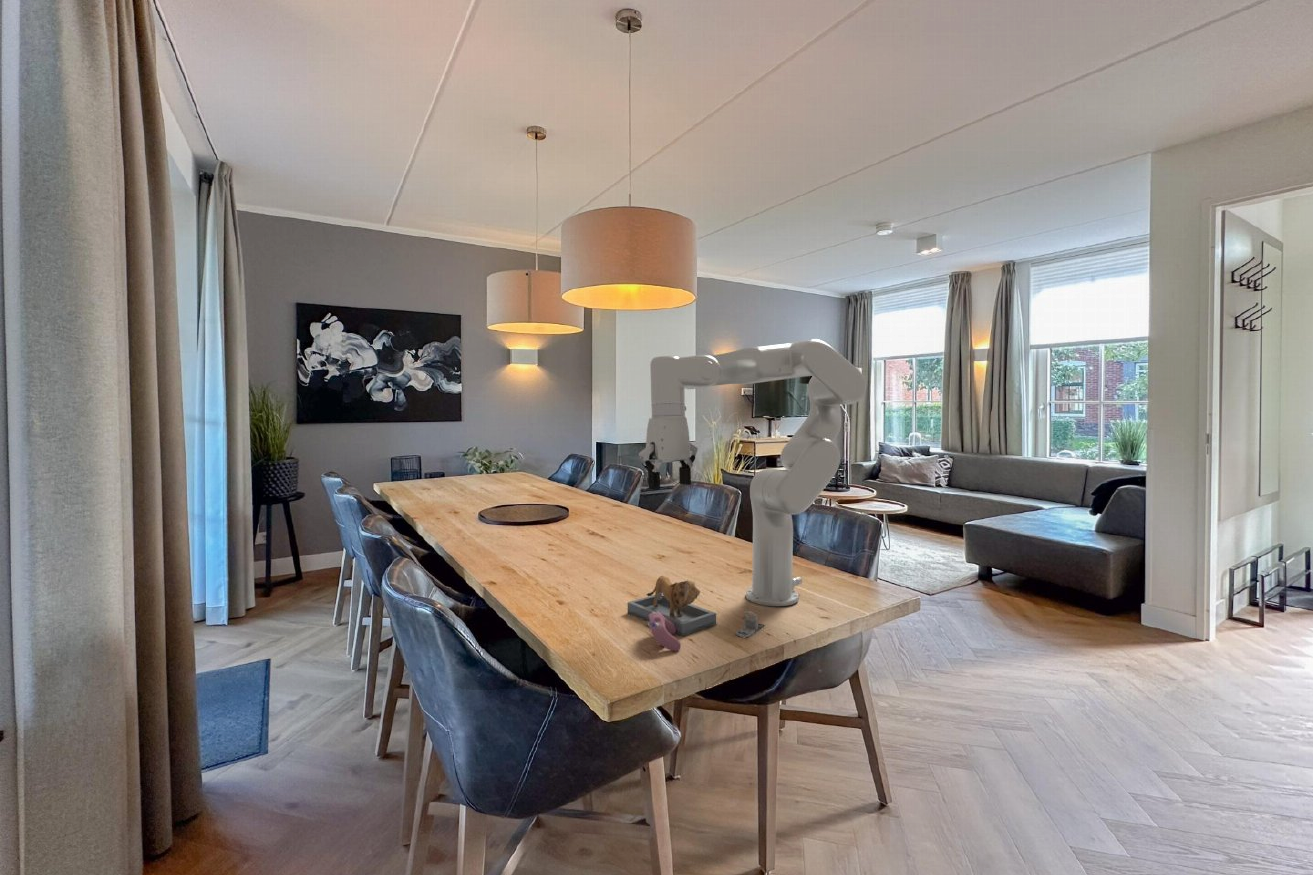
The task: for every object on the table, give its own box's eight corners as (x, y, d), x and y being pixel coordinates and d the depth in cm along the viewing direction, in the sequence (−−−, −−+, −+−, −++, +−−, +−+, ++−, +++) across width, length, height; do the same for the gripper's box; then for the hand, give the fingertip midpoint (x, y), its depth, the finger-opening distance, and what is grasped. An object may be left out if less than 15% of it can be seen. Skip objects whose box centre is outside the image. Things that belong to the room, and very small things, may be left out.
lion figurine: (699, 621, 127) (705, 582, 126) (682, 627, 124) (687, 587, 122) (654, 594, 138) (659, 558, 136) (637, 599, 134) (642, 562, 133)
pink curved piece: (657, 640, 121) (642, 611, 121) (677, 630, 122) (662, 600, 121) (661, 661, 112) (645, 629, 111) (683, 649, 112) (666, 617, 111)
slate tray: (660, 603, 140) (660, 593, 139) (716, 624, 126) (716, 613, 126) (627, 613, 133) (627, 602, 133) (682, 636, 119) (682, 624, 119)
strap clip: (747, 640, 118) (748, 619, 118) (734, 637, 120) (734, 616, 120) (765, 627, 125) (766, 607, 125) (752, 624, 127) (753, 605, 127)
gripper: (683, 410, 141) (685, 481, 142) (628, 412, 129) (630, 490, 130) (706, 410, 136) (708, 484, 137) (650, 412, 124) (653, 493, 125)
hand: (670, 486), depth 134 cm, fingers open, 9 cm apart
